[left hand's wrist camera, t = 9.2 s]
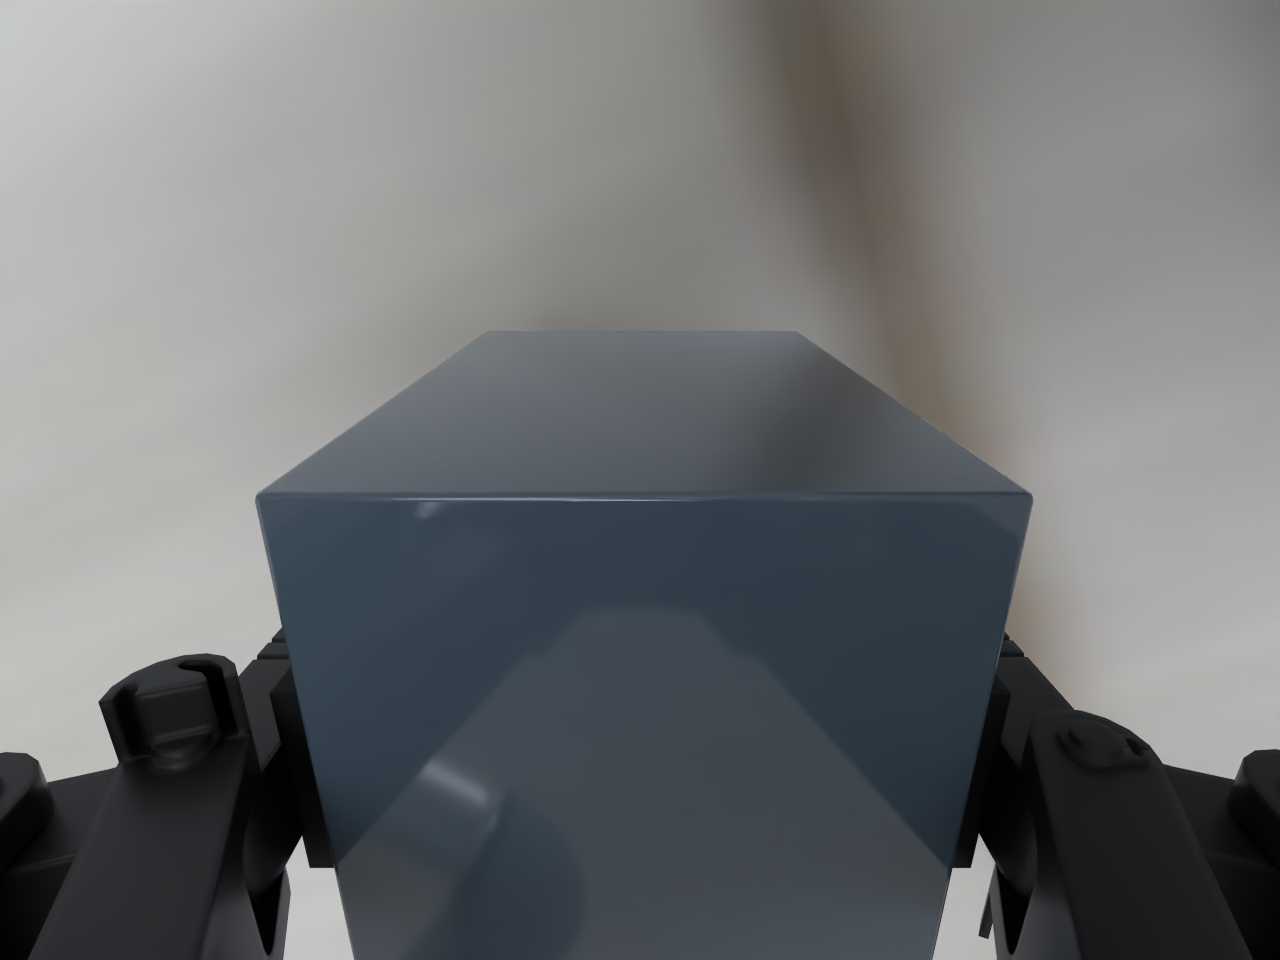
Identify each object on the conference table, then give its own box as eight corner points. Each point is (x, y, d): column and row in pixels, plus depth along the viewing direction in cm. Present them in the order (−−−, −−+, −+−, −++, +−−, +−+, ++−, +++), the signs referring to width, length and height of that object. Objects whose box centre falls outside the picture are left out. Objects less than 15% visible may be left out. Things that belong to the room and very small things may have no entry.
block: (510, 651, 18) (379, 1087, 9) (485, 330, 15) (248, 493, 6) (772, 651, 18) (906, 1087, 9) (798, 330, 15) (1038, 494, 6)
